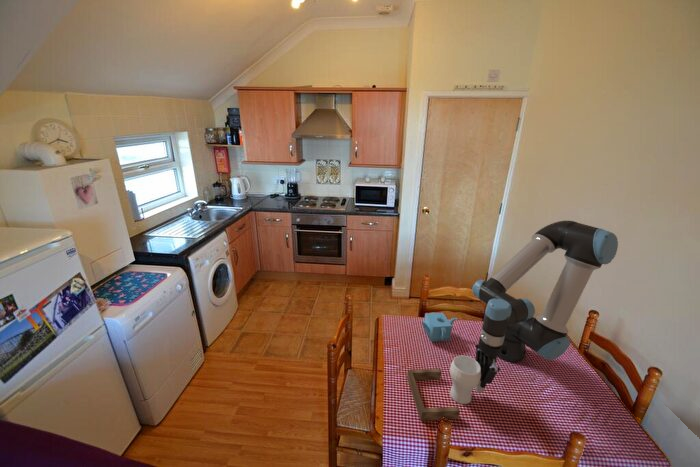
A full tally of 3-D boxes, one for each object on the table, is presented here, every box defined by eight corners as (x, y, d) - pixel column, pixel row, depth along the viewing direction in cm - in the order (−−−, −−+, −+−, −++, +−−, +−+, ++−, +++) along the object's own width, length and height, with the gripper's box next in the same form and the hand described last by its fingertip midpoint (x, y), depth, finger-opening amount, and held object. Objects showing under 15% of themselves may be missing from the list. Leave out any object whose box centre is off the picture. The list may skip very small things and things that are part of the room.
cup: (477, 410, 109) (485, 378, 104) (447, 404, 111) (453, 373, 106) (472, 387, 119) (479, 356, 114) (444, 382, 121) (450, 352, 116)
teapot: (414, 327, 153) (416, 308, 149) (448, 325, 155) (451, 306, 151) (425, 348, 138) (427, 328, 135) (462, 346, 140) (466, 326, 137)
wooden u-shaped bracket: (439, 376, 123) (440, 368, 122) (458, 419, 105) (459, 410, 104) (406, 377, 122) (407, 370, 121) (420, 420, 104) (421, 412, 103)
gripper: (472, 328, 112) (462, 377, 120) (490, 353, 100) (478, 406, 108) (491, 328, 113) (480, 377, 121) (511, 353, 101) (497, 405, 109)
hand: (479, 390), depth 115 cm, fingers closed
